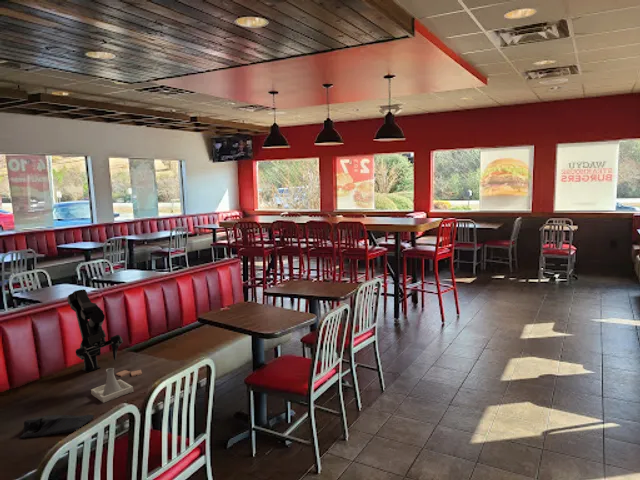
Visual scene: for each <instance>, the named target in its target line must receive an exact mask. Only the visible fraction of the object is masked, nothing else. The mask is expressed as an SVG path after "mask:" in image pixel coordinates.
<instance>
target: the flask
mask: <svg viewBox="0 0 640 480" xmlns="http://www.w3.org/2000/svg"><path fill="white" fill-rule="evenodd" d="M114 370H115V368H114V367H110V368H106V369H105V372H106V381H105V383H104V385H105V388H104V392H103V394H104V395H109V394H112V393H115V392H118V391H120V390H122V389H121V387H120V386H119V384H118V382H117V378H116V376H115V371H114Z"/></svg>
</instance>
